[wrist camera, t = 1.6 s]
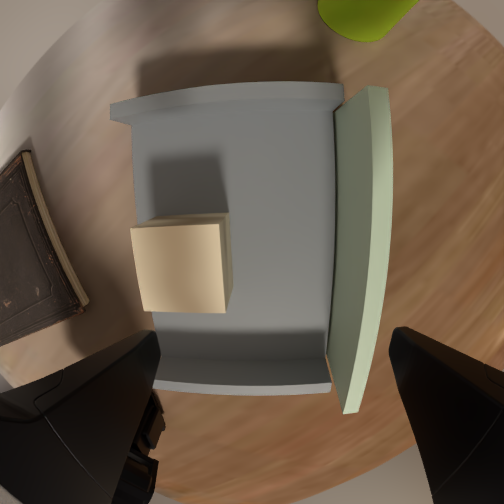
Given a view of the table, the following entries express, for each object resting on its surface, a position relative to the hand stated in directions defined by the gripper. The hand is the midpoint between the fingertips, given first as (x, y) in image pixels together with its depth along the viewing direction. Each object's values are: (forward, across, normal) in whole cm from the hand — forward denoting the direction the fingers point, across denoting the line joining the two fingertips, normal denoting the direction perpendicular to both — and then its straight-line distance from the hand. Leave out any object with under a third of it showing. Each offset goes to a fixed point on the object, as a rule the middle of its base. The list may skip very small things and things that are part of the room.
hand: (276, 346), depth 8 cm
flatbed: (+12, +3, 0) cm, 12 cm away
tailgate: (+12, -5, 0) cm, 13 cm away
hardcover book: (+13, +30, +2) cm, 32 cm away
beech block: (+11, +5, 0) cm, 12 cm away
